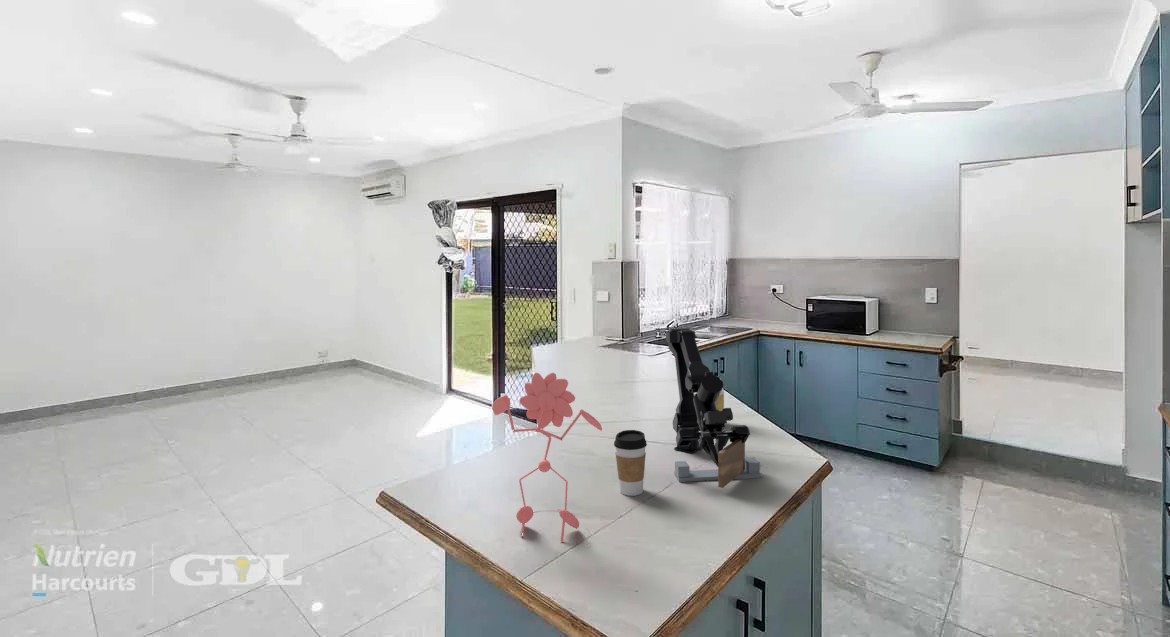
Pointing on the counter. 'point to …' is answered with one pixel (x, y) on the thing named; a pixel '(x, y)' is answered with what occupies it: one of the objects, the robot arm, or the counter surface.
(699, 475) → the gate frame
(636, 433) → the coffee cup
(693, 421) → the robot arm
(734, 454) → the gate leaf
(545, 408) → the figurine
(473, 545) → the counter surface
